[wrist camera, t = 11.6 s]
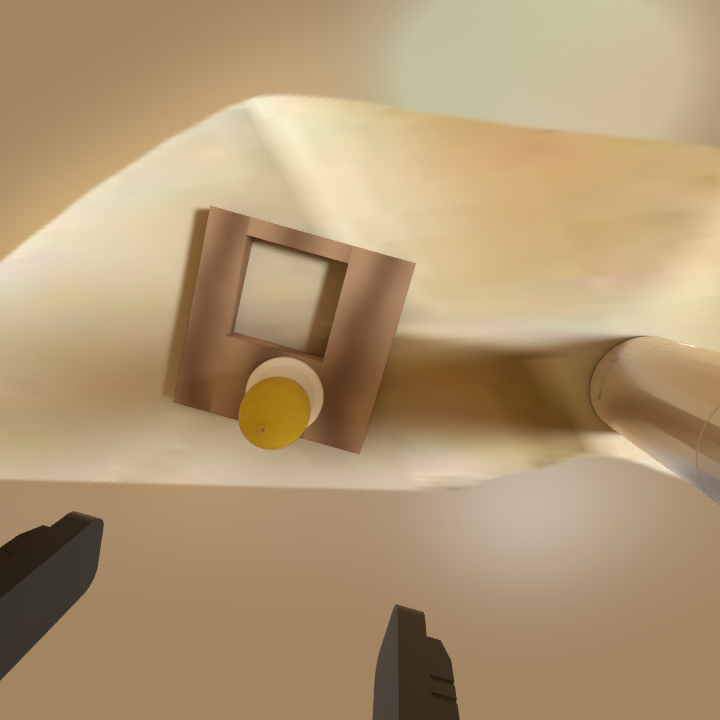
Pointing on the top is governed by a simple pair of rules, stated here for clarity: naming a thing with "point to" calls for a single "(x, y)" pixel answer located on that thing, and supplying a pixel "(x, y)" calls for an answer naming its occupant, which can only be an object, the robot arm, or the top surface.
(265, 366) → the saucer
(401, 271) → the pocket board
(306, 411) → the lemon
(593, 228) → the top surface
